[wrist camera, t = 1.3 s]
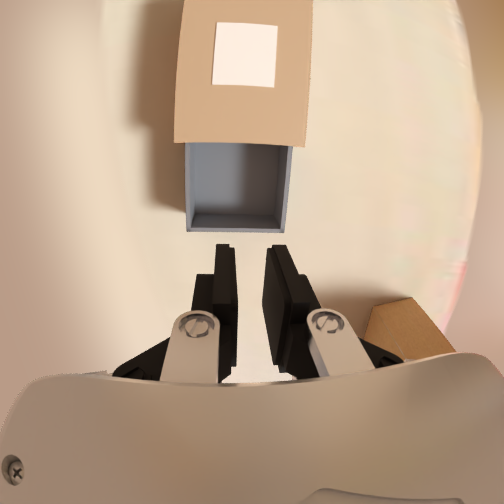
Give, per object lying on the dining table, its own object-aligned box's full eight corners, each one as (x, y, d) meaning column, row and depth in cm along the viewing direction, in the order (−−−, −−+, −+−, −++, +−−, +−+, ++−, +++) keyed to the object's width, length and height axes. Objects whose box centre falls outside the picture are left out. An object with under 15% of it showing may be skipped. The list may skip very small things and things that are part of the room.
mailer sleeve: (194, 5, 19) (187, -19, 13) (297, 11, 20) (313, -10, 14) (184, 138, 26) (173, 143, 20) (289, 142, 27) (305, 147, 21)
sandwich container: (354, 366, 46) (381, 429, 33) (371, 305, 39) (415, 377, 26) (391, 356, 46) (422, 412, 33) (413, 296, 39) (461, 357, 26)
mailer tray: (194, 78, 22) (188, 71, 19) (287, 82, 23) (297, 76, 20) (191, 215, 29) (186, 231, 25) (276, 217, 30) (284, 232, 26)
